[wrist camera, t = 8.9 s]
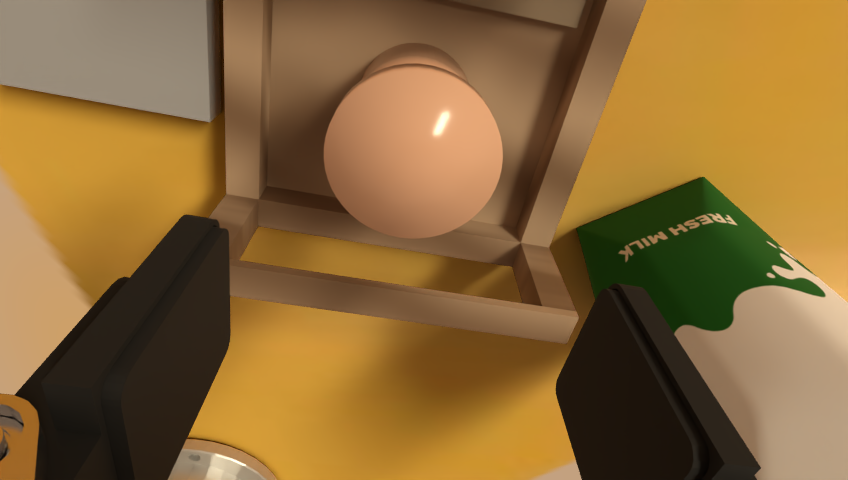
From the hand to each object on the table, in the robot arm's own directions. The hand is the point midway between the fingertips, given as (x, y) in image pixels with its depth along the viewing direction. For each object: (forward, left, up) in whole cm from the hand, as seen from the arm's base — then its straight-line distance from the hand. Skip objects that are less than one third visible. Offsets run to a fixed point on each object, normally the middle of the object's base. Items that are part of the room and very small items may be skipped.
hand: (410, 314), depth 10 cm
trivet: (+2, +13, -16) cm, 21 cm away
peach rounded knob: (0, 0, -15) cm, 15 cm away
